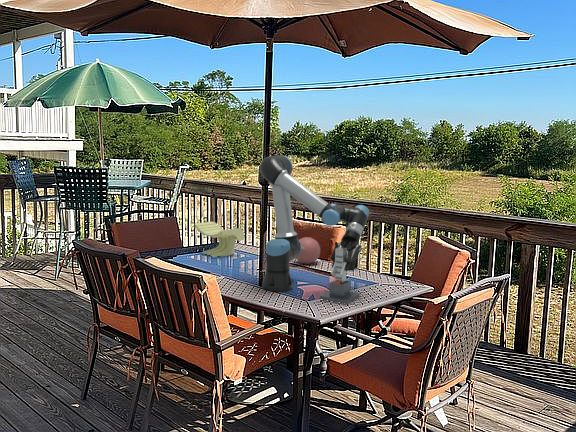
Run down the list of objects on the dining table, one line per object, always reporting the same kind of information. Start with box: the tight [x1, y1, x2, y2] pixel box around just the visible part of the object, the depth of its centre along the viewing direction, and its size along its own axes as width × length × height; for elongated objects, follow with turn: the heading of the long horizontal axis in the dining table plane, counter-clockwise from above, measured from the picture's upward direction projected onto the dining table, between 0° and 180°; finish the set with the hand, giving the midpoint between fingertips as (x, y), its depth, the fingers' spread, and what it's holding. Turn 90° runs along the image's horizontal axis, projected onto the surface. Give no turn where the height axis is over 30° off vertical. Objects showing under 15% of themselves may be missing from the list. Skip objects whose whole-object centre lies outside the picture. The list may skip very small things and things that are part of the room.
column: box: [334, 246, 347, 284], centre depth 270 cm, size 4×4×20 cm
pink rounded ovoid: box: [296, 236, 321, 265], centre depth 337 cm, size 15×20×15 cm
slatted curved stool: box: [194, 221, 245, 258], centre depth 361 cm, size 30×16×18 cm, turn 40°
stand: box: [319, 279, 361, 305], centre depth 272 cm, size 14×14×9 cm
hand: (336, 275), depth 268 cm, fingers closed on column, 4 cm apart
